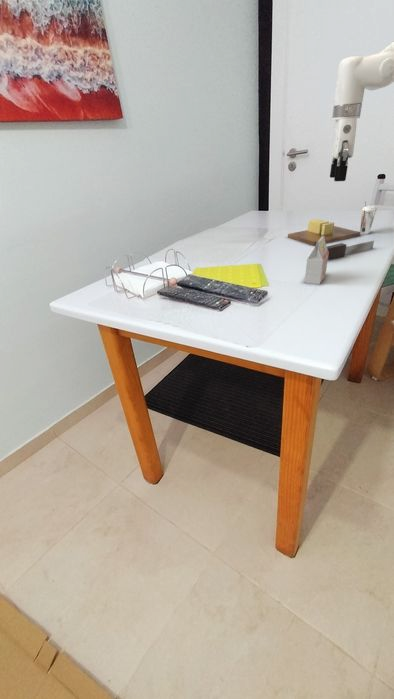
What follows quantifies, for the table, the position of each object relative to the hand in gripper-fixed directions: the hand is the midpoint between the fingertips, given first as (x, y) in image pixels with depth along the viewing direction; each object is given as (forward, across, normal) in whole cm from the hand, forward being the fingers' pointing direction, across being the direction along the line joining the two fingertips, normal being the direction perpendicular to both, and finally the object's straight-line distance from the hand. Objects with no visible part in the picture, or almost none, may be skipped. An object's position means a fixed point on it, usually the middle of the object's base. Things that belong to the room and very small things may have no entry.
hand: (337, 179), depth 106 cm
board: (+19, +4, +1) cm, 19 cm away
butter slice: (+17, +2, 0) cm, 18 cm away
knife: (+19, -18, -3) cm, 26 cm away
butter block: (+18, +6, +3) cm, 19 cm away
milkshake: (+19, +8, -13) cm, 24 cm away
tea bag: (+19, -38, +8) cm, 43 cm away
